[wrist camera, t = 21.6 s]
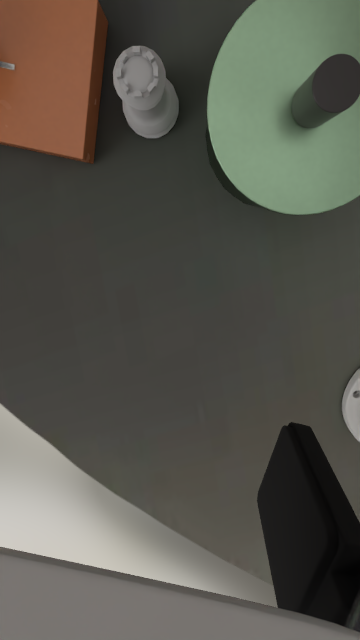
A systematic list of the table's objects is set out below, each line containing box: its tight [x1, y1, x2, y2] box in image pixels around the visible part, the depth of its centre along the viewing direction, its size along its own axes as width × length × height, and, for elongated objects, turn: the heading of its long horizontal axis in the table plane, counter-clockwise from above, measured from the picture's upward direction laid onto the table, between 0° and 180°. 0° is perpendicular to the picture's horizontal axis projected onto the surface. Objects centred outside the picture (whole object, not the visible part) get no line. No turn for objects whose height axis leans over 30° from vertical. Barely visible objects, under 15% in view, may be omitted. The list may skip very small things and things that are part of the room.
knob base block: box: [0, 0, 108, 164], centre depth 25 cm, size 14×10×3 cm
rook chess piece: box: [113, 46, 179, 138], centre depth 23 cm, size 4×4×8 cm
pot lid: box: [207, 0, 360, 215], centre depth 18 cm, size 12×12×5 cm
